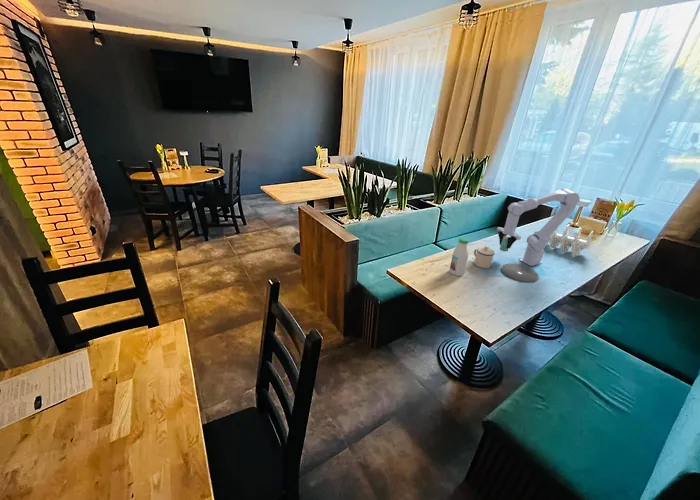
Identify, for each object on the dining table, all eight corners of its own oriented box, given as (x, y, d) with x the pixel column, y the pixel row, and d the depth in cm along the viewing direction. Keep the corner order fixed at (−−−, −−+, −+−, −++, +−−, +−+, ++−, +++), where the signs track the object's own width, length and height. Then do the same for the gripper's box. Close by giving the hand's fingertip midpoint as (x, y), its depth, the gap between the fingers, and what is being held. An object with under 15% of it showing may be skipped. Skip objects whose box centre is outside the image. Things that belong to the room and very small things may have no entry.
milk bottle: (464, 270, 160) (471, 237, 151) (464, 277, 154) (472, 243, 145) (449, 267, 163) (456, 235, 154) (448, 274, 156) (455, 241, 147)
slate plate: (516, 262, 170) (517, 261, 169) (545, 278, 155) (546, 276, 155) (493, 268, 163) (494, 266, 163) (521, 285, 149) (522, 283, 148)
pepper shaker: (503, 247, 172) (506, 235, 168) (509, 250, 168) (513, 238, 165) (497, 248, 170) (501, 236, 167) (504, 251, 167) (507, 239, 163)
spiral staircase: (541, 248, 197) (585, 261, 179) (533, 243, 185) (580, 257, 167) (552, 222, 195) (598, 233, 177) (545, 216, 183) (594, 227, 165)
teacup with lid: (494, 267, 165) (499, 248, 159) (482, 270, 161) (487, 251, 156) (478, 257, 174) (482, 240, 169) (466, 260, 171) (470, 242, 166)
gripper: (495, 220, 167) (489, 242, 173) (517, 230, 155) (510, 252, 161) (504, 219, 169) (498, 240, 175) (526, 228, 157) (519, 250, 164)
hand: (504, 246), depth 168 cm, fingers closed on pepper shaker, 4 cm apart
